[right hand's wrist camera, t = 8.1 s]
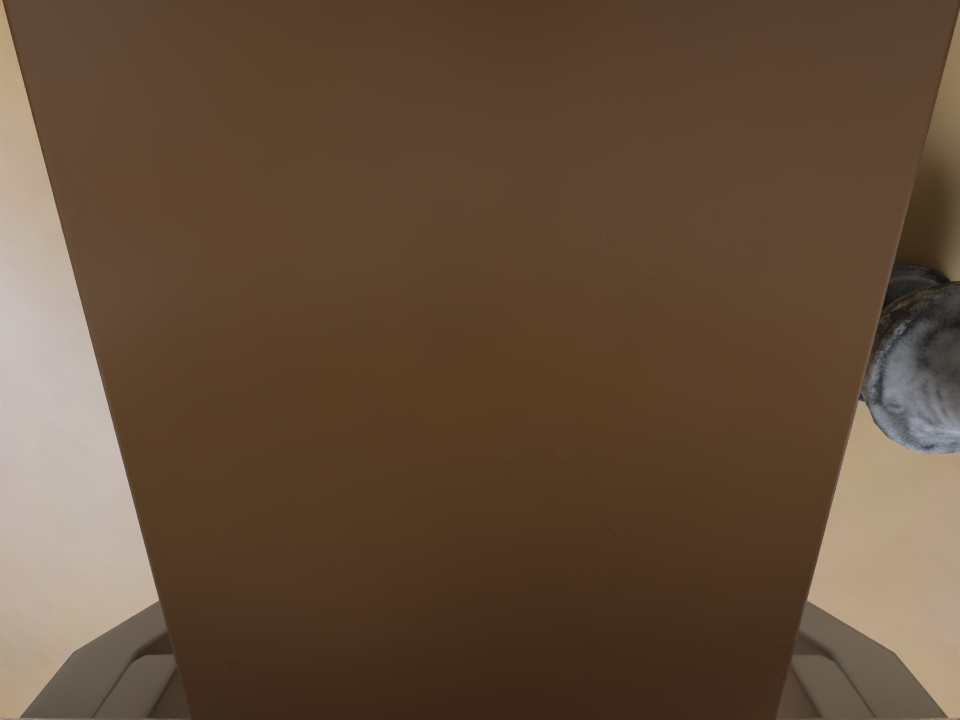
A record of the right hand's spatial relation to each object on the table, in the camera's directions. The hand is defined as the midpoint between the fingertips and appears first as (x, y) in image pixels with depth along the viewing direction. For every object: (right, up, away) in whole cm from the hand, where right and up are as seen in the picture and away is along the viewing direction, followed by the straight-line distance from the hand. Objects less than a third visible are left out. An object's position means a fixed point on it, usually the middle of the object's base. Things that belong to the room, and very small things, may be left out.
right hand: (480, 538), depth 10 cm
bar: (0, +9, 0) cm, 9 cm away
